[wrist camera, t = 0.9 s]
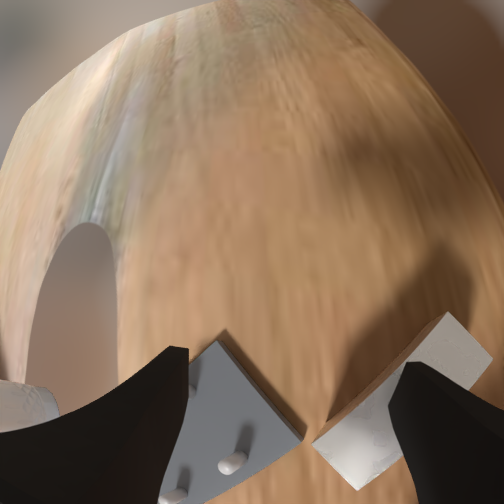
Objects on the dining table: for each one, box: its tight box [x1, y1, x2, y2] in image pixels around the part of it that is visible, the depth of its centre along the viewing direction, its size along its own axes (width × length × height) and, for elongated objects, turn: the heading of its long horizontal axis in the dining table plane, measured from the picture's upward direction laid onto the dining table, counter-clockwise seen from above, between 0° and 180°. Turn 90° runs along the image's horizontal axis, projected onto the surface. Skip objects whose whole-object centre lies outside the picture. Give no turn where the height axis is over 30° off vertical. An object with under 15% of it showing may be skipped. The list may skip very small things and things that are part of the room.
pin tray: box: [157, 340, 304, 504], centre depth 20 cm, size 10×16×4 cm, turn 131°
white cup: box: [0, 379, 60, 432], centre depth 24 cm, size 8×8×10 cm
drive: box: [311, 311, 493, 490], centre depth 15 cm, size 4×10×6 cm, turn 131°
